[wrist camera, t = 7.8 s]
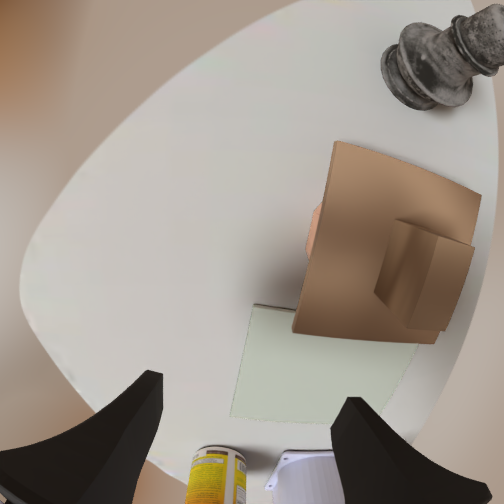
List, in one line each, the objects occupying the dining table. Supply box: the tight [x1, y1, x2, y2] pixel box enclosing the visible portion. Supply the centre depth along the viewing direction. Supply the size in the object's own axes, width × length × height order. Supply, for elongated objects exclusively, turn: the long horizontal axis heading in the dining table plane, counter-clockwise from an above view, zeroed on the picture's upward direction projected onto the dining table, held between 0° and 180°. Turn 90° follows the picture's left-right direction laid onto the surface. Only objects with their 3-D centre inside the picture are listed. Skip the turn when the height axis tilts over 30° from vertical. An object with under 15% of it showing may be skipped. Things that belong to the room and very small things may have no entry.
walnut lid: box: [291, 141, 482, 344], centre depth 12 cm, size 10×10×5 cm
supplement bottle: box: [185, 447, 246, 504], centre depth 19 cm, size 6×6×10 cm
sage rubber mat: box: [230, 304, 419, 424], centre depth 20 cm, size 11×14×1 cm
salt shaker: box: [381, 4, 504, 111], centre depth 9 cm, size 6×6×12 cm
